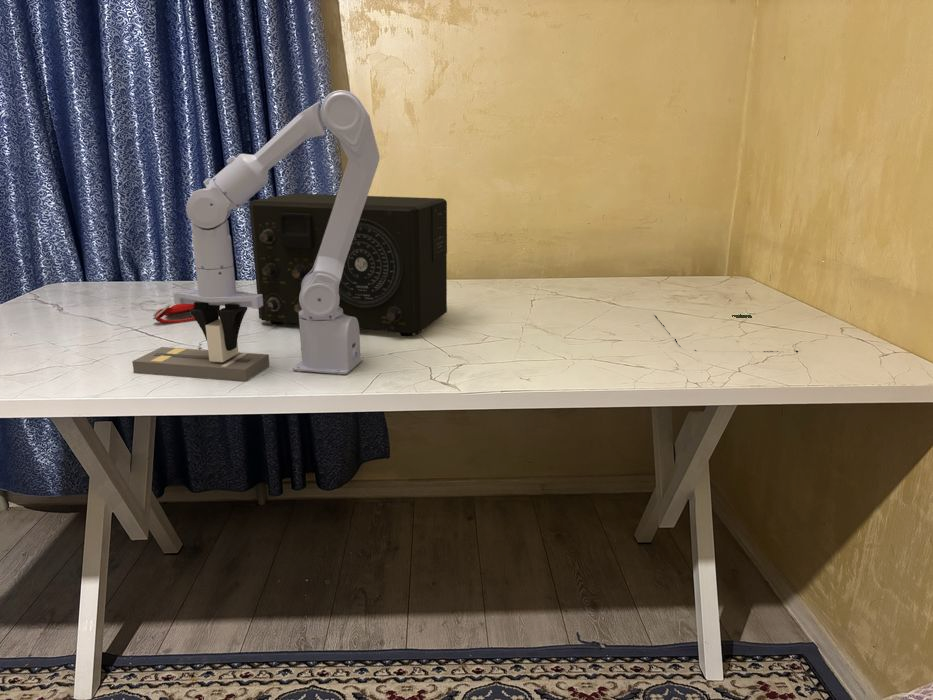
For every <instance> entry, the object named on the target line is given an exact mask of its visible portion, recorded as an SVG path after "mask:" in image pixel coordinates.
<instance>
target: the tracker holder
mask: <svg viewBox="0 0 933 700" xmlns="http://www.w3.org/2000/svg"><path fill="white" fill-rule="evenodd" d="M193 308H194V304H185V303H182V304H174V305H172V306H171V304H167V305H166V306H165V307H164V308H160V309H157V310H156V311H155V313H153V315H152V317H153V318H152V319H153V320H156V322H159V323H161V324H177V323H184V322H192V321H196V320H195V318H194V317H191V318H190V317H189V318H182V319H174V320H173V319H164V318H163V317H164V316H165V317H170V316H175V315H182V314H186V313H190V310H191V309H193Z"/></svg>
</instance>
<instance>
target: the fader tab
mask: <svg viewBox="0 0 933 700" xmlns="http://www.w3.org/2000/svg"><path fill="white" fill-rule="evenodd" d="M205 326H206V335H207V340H206V342H207V350H208V353H209V361H212V362H224V361H226V360H228V359H229V358H231V357H233V356H234V355H236V354H238V352H239V344H238V341H237V347H236V348H235V349H233V350H231V351H227V349H226V346H225V339H224V331H223V326H222V323H221V320H220V318H219V319H218V320H216V321H214V322H212V323H209V324H207V325H205Z"/></svg>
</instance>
